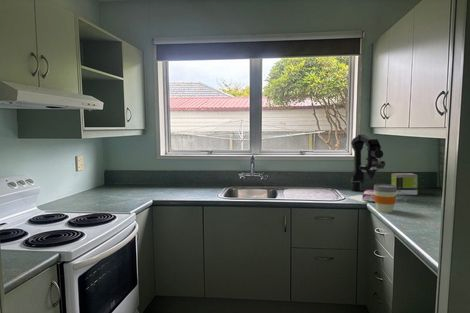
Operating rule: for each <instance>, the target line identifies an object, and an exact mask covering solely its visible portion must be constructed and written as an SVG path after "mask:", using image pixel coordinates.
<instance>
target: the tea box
mask: <svg viewBox="0 0 470 313" xmlns="http://www.w3.org/2000/svg"><path fill="white" fill-rule="evenodd" d="M390 177H391V178H390V179H391V182H390V183H391V184H390V185H395V186H397V192H396V196H397V195H400V196H401V195H403V196H406V195H408V196H409V195H413V196H414V195H415V196H416V195H418V187H419V186H418V184H419V183H418V179H419V178H418V177H419V176H418V174H415V173H411V172H410V173H409V172H405V173H404V172H402V173H400V172H399V173H397V172H396V173H395V172H394V173H391V176H390Z"/></svg>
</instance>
